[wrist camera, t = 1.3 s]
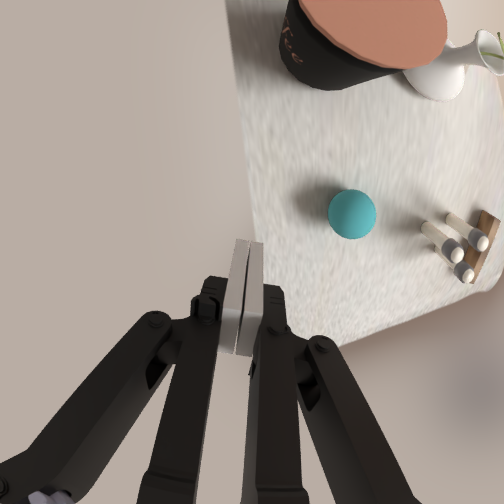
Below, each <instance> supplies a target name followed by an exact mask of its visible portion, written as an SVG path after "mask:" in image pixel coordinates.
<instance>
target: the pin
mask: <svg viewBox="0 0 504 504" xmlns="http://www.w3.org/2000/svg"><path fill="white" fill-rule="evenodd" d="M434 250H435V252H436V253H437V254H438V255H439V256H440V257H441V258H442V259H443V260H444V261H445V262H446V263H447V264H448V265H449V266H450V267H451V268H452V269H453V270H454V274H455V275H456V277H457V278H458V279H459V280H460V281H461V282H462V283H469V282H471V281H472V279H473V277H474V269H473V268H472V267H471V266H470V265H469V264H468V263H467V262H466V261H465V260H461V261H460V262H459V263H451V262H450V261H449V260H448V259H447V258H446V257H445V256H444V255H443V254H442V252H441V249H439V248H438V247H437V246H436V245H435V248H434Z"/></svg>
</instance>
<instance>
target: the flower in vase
mask: <svg viewBox="0 0 504 504" xmlns="http://www.w3.org/2000/svg"><path fill="white" fill-rule="evenodd" d="M497 34H498V37H499V40H500V43H499V42H498V41H497V39H496V38H495V37H494V36H493V35H492V34H491V33H490V32H488V31H486V30H483V29H481V30H479V31H477V33H476V35H475V39H474V41H473V42H471V43H470V44H468V45H465V46H462V47H458V48H455V46H454V45H453V44H452V43H451V41H450V40H449V39H448V38H447V40H446V43H445V45H444V48H443V50H442V52H441V54H440V55H439V56H438V57H436V58H435V59H434V60H433V61H431V62H430V63H429V64H427V65H423V66H419V67H415V68H411V69H407V70H403V73H404V75H405V77H406V78H407V80H408V81H409V82H410V84H411V85H412V86H413V87H414V88H415V89H416V90H417V91H418V92H419V93H420V94H422V95H423V96H425V97H426V98H428V99H431V100H433V101H437V102H446V101H449V100H452V99H453V98H454V97H456V96H457V95H458V94H459V93H460V91H461V89H462V87H463V84H464V67H463V66H464V65H479V66H483V67H485V68H487V69H488V70H489V71H490V72H492V73H493V74H495V75H497V76H502V75H504V44H503V41H502V39H501V38H500V33H499V32H498V33H497Z"/></svg>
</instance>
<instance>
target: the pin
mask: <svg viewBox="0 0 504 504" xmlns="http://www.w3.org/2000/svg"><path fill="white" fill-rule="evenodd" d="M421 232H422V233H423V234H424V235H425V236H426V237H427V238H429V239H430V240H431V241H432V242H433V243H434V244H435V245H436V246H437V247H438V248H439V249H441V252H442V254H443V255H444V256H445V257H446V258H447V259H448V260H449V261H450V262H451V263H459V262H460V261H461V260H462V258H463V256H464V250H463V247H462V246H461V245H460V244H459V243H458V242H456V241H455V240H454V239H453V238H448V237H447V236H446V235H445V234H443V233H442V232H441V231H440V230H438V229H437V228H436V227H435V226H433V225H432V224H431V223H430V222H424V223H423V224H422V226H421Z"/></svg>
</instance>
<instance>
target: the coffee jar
mask: <svg viewBox="0 0 504 504" xmlns="http://www.w3.org/2000/svg"><path fill="white" fill-rule="evenodd" d="M446 40H447V20H446V16H445V13H444V10H443V7H442V5H441V2H440V0H289V2H288V6H287V10H286V15H285V19H284V23H283V28H282V32H281V37H280V43H279V49H280V54H281V58H282V60H283V62H284V64H285V65H286V67H287V69H288V71H290V72H291V73H292V74H293V75H294V76H295V77H296V78H297V79H298V80H299V81H301V82H303V83H305V84H307V85H309V86H311V87H313V88H317V89H321V90H325V91H330V90H342V89H344V88H347V87H350V86H353V85H356V84H359V83H362V82H366V81H369V80H372V79H375V78H379V77H382V76H386V75H389V74H393V73H396V72H400V71H403V70H407V69H411V68H415V67H419V66H423V65H427V64H429V63H430V62H431V61H433V60H434V59H435V58H436V57H438V56H439V55H440V54H441V52H442V50H443V48H444V45H445V43H446Z"/></svg>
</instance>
